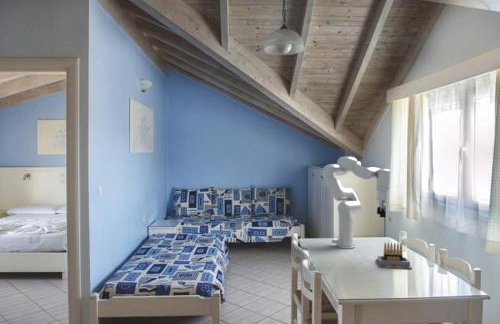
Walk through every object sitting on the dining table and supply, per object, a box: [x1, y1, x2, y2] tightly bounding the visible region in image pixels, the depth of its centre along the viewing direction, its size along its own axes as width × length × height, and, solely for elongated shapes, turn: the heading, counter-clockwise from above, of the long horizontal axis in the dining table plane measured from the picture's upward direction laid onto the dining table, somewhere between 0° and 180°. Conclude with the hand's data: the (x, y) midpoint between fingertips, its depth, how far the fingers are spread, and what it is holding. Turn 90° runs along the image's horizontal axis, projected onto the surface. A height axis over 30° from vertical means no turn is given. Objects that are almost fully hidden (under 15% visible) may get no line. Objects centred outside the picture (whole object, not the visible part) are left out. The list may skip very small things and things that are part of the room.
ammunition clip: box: [383, 241, 404, 261], centre depth 215 cm, size 11×2×12 cm, turn 82°
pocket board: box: [375, 255, 413, 270], centre depth 215 cm, size 17×14×4 cm
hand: (381, 215), depth 231 cm, fingers open, 9 cm apart
